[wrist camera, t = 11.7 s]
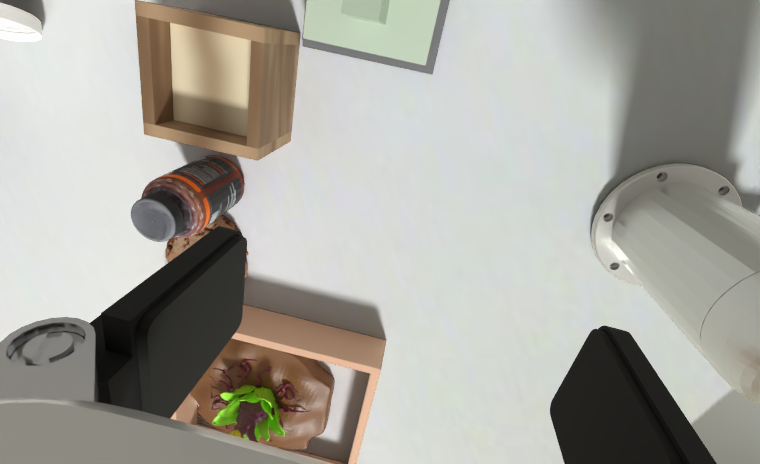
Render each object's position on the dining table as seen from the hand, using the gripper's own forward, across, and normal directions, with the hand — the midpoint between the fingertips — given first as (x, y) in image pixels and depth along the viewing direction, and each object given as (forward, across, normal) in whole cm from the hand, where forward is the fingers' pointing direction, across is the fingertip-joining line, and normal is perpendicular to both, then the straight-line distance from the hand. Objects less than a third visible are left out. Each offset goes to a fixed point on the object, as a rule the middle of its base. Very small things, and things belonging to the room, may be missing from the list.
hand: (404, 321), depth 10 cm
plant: (+31, +14, +40) cm, 52 cm away
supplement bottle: (+30, +21, +11) cm, 38 cm away
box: (+30, +19, 0) cm, 35 cm away
